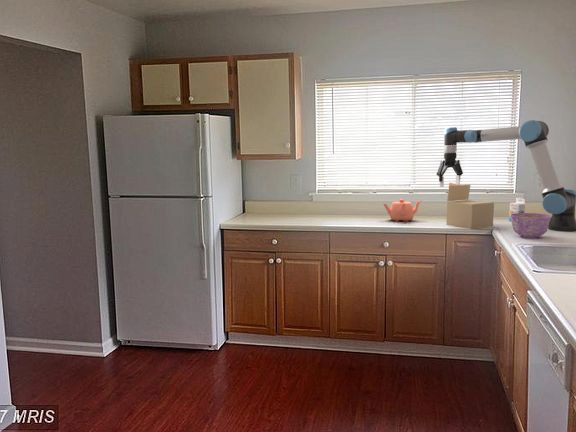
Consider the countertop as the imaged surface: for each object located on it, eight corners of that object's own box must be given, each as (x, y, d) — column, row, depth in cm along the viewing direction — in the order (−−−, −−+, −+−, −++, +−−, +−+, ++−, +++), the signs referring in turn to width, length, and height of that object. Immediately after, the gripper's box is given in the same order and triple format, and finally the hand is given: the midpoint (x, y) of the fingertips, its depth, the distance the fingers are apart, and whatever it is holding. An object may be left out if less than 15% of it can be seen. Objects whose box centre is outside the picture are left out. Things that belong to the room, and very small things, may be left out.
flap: (470, 184, 338) (460, 181, 345) (449, 185, 329) (439, 182, 336) (468, 199, 340) (458, 196, 347) (447, 201, 332) (437, 197, 339)
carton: (492, 226, 325) (494, 202, 323) (471, 228, 316) (472, 204, 314) (467, 222, 342) (468, 199, 340) (446, 224, 334) (447, 201, 332)
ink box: (508, 220, 346) (509, 197, 344) (515, 220, 348) (516, 197, 346) (517, 222, 338) (519, 199, 336) (524, 222, 340) (525, 198, 338)
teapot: (421, 220, 351) (422, 199, 349) (404, 223, 339) (404, 201, 337) (399, 217, 365) (399, 197, 363) (381, 220, 353) (381, 199, 351)
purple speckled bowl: (505, 237, 286) (506, 216, 285) (513, 232, 303) (514, 212, 301) (546, 241, 275) (548, 219, 274) (552, 235, 292) (554, 214, 290)
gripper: (460, 151, 348) (459, 184, 351) (431, 152, 336) (430, 186, 339) (469, 151, 341) (468, 185, 344) (439, 152, 330) (439, 187, 332)
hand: (449, 186), depth 341 cm, fingers open, 13 cm apart
